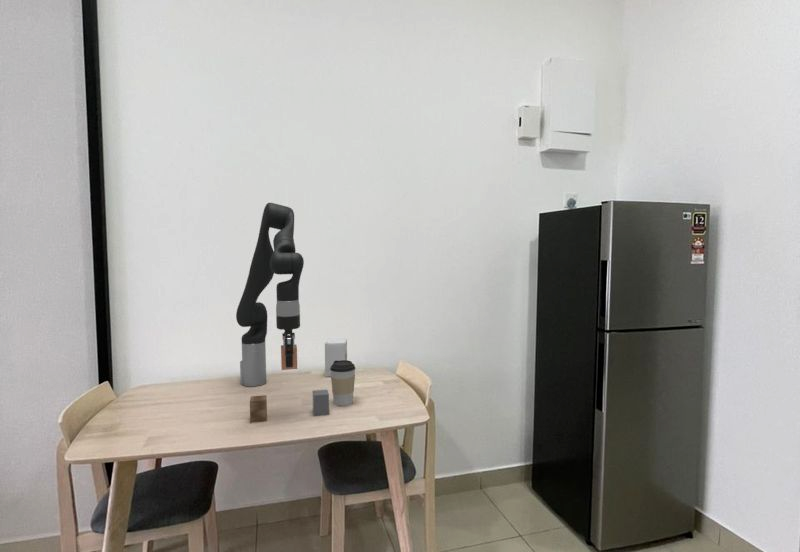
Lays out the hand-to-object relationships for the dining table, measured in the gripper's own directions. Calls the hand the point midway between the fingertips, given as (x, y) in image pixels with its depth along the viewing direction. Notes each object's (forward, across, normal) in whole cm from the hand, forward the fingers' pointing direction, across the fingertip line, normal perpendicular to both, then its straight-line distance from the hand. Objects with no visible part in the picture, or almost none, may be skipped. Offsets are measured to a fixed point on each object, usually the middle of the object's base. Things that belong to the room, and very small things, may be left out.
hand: (289, 364), depth 143 cm
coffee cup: (+18, +7, -19) cm, 27 cm away
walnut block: (+17, 0, +10) cm, 20 cm away
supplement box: (+18, +42, -21) cm, 50 cm away
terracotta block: (+1, 0, 0) cm, 1 cm away
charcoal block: (+17, 0, -10) cm, 20 cm away
